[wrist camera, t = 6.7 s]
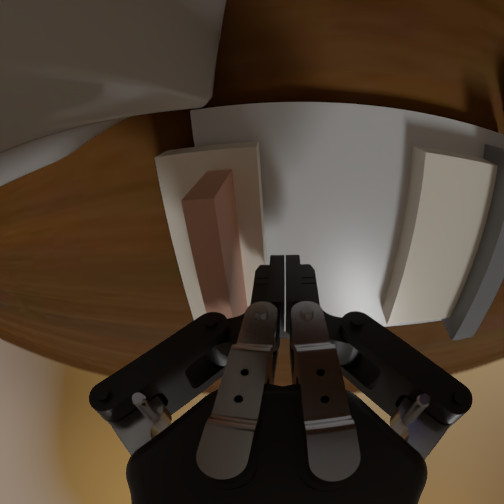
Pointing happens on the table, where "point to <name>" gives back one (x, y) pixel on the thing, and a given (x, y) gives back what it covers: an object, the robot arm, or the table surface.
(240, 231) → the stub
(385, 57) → the table surface
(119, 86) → the vase
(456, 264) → the white tray
